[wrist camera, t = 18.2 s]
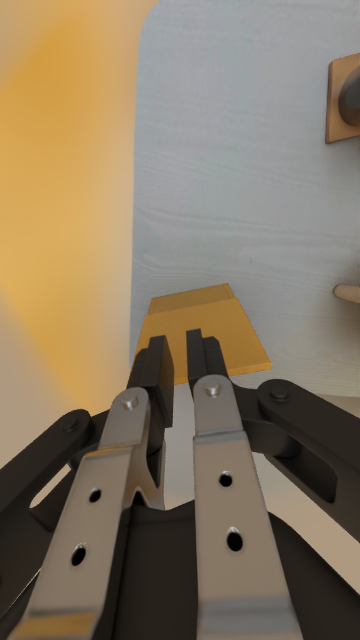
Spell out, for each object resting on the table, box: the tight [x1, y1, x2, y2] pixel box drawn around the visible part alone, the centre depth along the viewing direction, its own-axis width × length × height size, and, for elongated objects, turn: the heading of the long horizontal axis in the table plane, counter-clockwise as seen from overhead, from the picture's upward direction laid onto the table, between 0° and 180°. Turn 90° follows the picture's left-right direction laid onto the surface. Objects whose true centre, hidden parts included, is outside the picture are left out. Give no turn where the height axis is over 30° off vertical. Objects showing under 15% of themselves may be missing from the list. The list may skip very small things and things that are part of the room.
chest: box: [147, 283, 236, 315], centre depth 39 cm, size 13×13×7 cm
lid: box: [128, 298, 271, 385], centre depth 27 cm, size 14×13×1 cm
